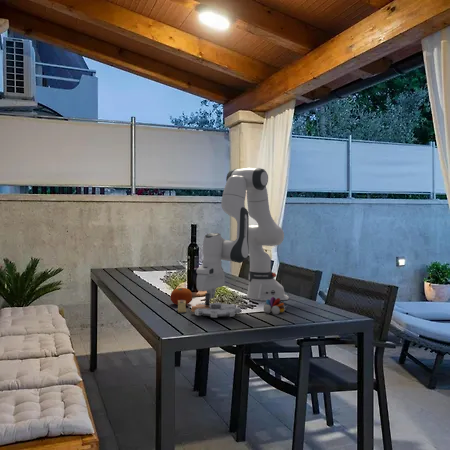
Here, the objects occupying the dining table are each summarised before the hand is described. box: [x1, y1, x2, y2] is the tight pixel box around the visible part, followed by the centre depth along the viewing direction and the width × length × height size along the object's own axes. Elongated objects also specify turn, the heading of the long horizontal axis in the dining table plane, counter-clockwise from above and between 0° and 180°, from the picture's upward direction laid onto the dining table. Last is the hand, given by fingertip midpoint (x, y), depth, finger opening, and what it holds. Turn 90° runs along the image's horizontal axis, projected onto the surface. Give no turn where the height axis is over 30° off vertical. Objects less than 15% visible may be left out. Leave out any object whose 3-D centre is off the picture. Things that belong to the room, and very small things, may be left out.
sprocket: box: [191, 292, 241, 318], centre depth 212 cm, size 22×22×7 cm
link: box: [177, 300, 187, 313], centre depth 219 cm, size 4×6×5 cm, turn 6°
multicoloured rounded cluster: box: [263, 297, 286, 316], centre depth 220 cm, size 8×10×7 cm
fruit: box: [170, 287, 193, 306], centre depth 233 cm, size 11×10×8 cm
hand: (211, 298), depth 221 cm, fingers closed
